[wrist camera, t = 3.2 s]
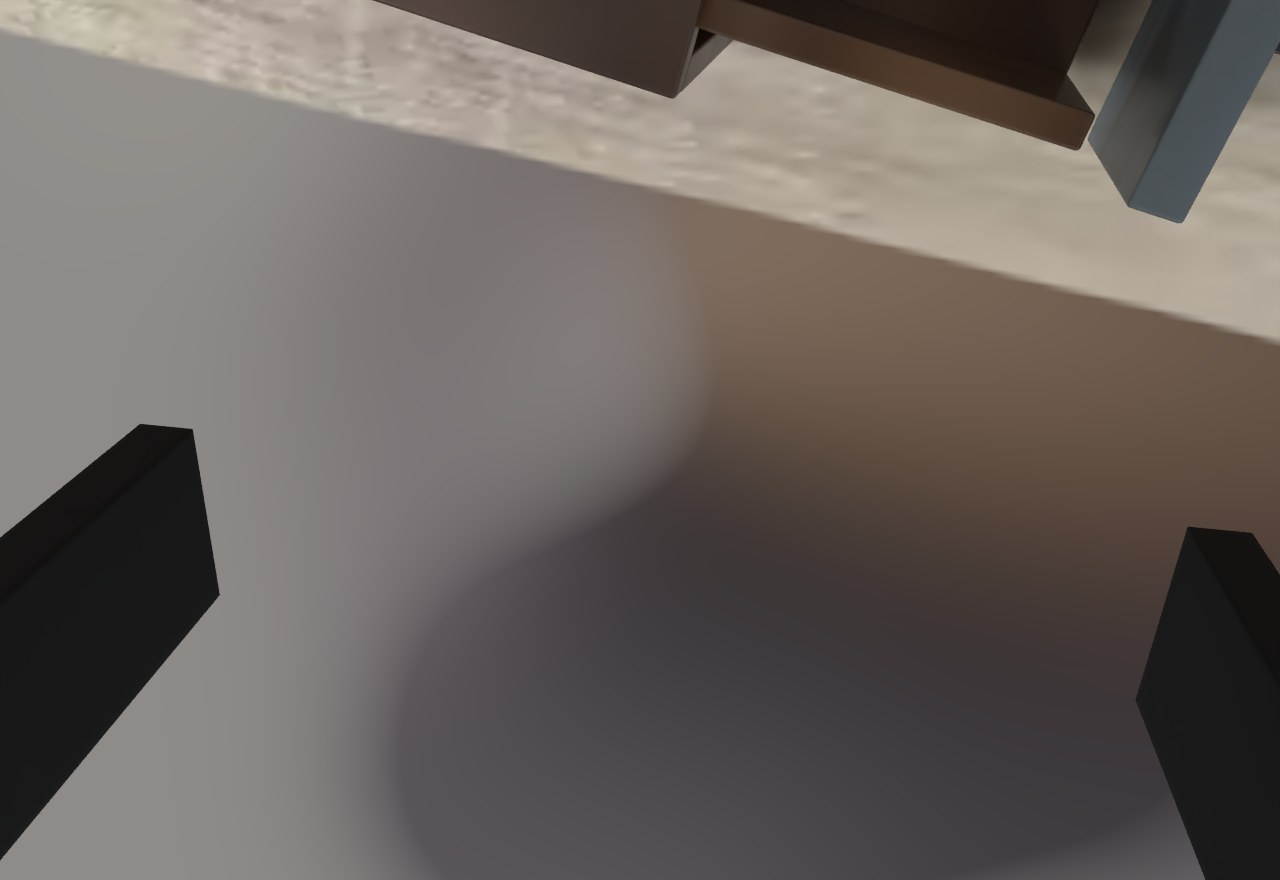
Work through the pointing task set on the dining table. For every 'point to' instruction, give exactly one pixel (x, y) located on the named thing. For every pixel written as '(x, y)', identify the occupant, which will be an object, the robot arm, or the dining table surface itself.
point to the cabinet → (593, 34)
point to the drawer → (1044, 72)
